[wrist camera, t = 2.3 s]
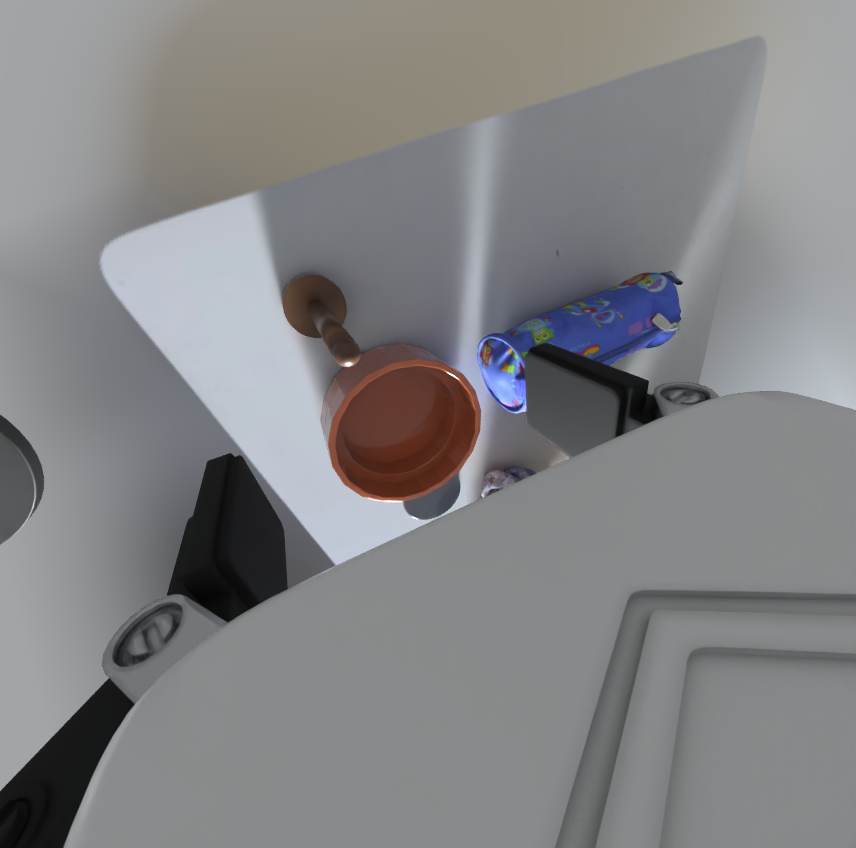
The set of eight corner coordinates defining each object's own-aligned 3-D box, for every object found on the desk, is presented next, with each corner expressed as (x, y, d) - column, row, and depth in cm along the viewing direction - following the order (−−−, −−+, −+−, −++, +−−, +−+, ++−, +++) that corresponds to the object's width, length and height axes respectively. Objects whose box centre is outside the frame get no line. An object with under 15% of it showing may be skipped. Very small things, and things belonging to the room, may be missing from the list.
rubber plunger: (272, 314, 29) (276, 379, 16) (297, 260, 28) (324, 281, 15) (326, 342, 32) (368, 417, 19) (352, 293, 31) (415, 336, 18)
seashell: (470, 477, 49) (526, 469, 53) (481, 515, 47) (538, 504, 51) (489, 464, 45) (548, 457, 49) (502, 506, 43) (563, 494, 47)
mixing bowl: (294, 446, 36) (298, 480, 31) (365, 313, 32) (383, 327, 27) (412, 483, 44) (430, 514, 39) (478, 380, 41) (507, 400, 36)
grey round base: (391, 509, 44) (392, 513, 44) (423, 459, 43) (425, 461, 42) (438, 521, 49) (439, 524, 48) (469, 476, 47) (471, 478, 46)
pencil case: (626, 265, 41) (710, 271, 34) (622, 333, 46) (694, 352, 38) (465, 329, 37) (518, 354, 29) (478, 397, 42) (527, 434, 34)
